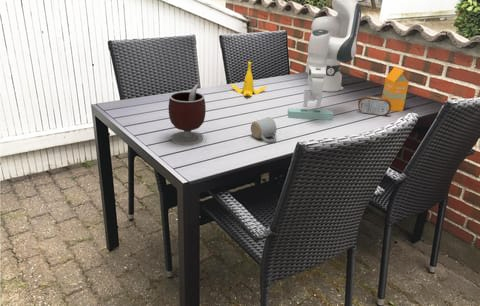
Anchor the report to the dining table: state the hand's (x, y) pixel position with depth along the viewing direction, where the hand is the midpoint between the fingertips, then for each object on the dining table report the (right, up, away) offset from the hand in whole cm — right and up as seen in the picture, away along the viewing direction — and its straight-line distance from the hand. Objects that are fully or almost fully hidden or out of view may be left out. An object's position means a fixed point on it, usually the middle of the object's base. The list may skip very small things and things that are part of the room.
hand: (312, 99), depth 189 cm
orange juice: (+43, -2, +21) cm, 48 cm away
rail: (-1, -8, +4) cm, 9 cm away
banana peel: (-26, +8, +35) cm, 45 cm away
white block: (0, -3, +2) cm, 4 cm away
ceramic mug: (-23, -18, -21) cm, 36 cm away
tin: (+31, -6, +11) cm, 33 cm away
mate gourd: (-53, -19, -24) cm, 61 cm away
